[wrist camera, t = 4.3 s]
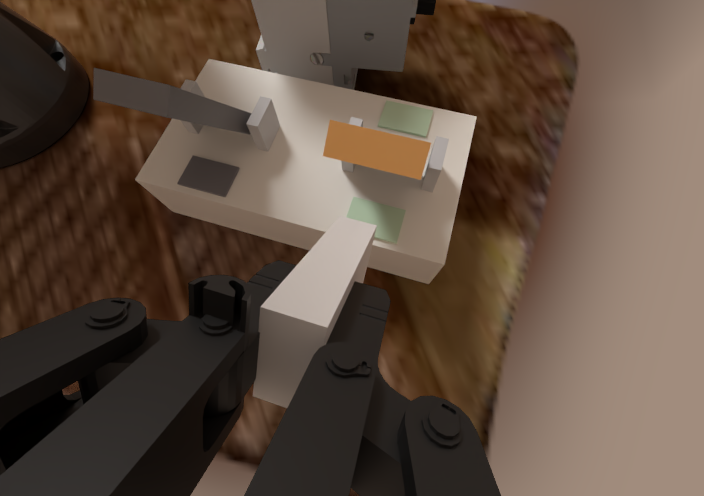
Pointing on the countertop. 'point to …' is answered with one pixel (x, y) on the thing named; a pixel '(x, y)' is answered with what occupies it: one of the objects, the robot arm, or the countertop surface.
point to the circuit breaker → (335, 37)
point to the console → (312, 167)
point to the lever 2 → (376, 149)
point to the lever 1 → (167, 101)
